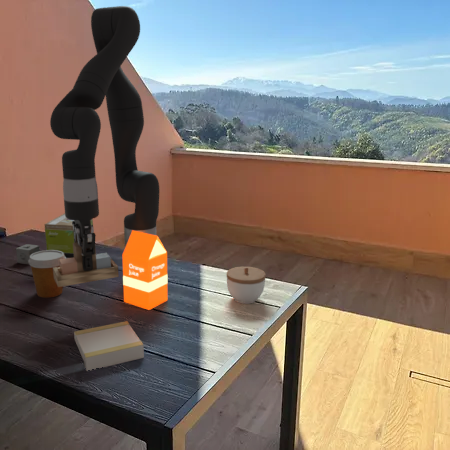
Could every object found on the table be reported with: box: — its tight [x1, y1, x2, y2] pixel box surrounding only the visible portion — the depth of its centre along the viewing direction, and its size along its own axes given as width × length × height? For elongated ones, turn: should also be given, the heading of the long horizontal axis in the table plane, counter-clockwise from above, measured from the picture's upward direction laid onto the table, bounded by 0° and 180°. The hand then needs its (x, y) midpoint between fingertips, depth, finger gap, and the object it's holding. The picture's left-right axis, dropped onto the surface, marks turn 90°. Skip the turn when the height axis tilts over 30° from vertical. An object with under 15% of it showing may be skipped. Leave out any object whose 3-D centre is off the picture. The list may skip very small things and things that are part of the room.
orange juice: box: [121, 230, 169, 311], centre depth 123 cm, size 8×9×20 cm
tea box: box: [44, 212, 95, 259], centre depth 155 cm, size 15×10×15 cm, turn 172°
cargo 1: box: [59, 257, 78, 275], centre depth 110 cm, size 3×3×3 cm
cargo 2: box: [96, 252, 112, 269], centre depth 114 cm, size 3×3×3 cm
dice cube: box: [15, 243, 41, 266], centre depth 155 cm, size 5×5×5 cm
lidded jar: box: [226, 266, 267, 305], centre depth 130 cm, size 11×11×9 cm
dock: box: [73, 320, 145, 372], centre depth 102 cm, size 12×12×3 cm
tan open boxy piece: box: [53, 242, 120, 288], centre depth 112 cm, size 14×6×8 cm, turn 118°
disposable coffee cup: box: [28, 249, 66, 299], centre depth 128 cm, size 10×10×12 cm
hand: (85, 266), depth 112 cm, fingers closed on tan open boxy piece, 3 cm apart
